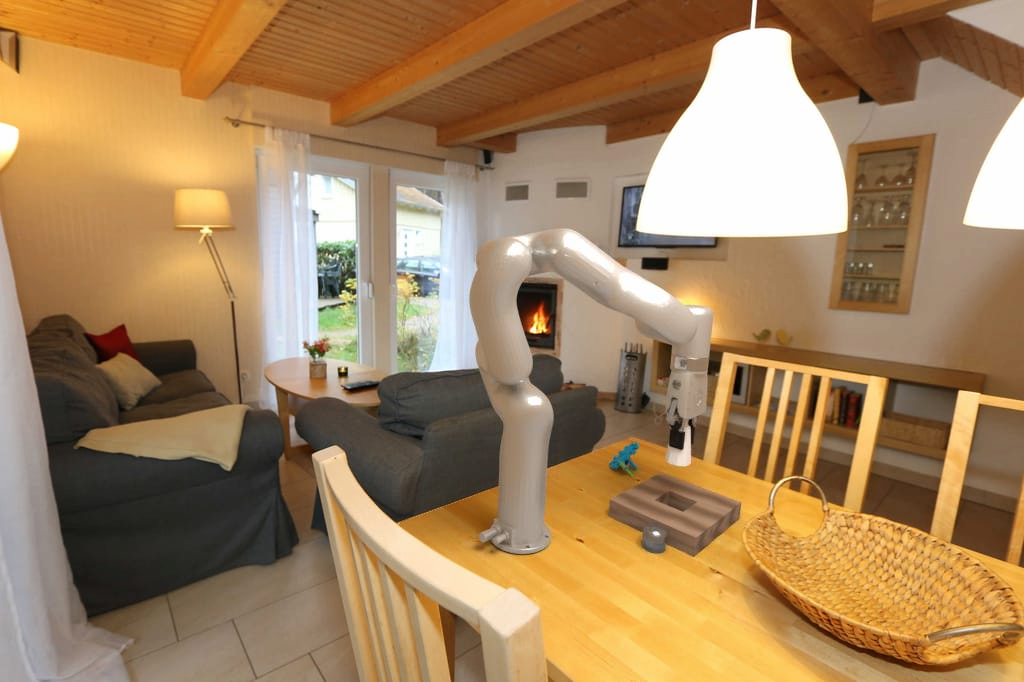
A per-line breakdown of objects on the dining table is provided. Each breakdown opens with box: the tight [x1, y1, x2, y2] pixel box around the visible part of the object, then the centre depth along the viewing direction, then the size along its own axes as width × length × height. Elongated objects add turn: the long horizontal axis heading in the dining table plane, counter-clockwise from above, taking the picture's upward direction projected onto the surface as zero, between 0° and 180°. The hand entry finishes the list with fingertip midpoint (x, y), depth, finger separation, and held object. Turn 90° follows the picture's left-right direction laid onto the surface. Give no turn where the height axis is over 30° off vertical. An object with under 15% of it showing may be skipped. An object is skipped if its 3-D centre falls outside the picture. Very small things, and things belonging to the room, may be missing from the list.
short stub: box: [641, 523, 667, 555], centre depth 100 cm, size 5×5×4 cm
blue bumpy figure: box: [609, 441, 640, 477], centre depth 136 cm, size 11×6×10 cm
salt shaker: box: [664, 413, 692, 468], centre depth 109 cm, size 5×5×11 cm
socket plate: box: [608, 472, 742, 558], centre depth 112 cm, size 22×20×4 cm
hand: (681, 444), depth 109 cm, fingers closed on salt shaker, 3 cm apart
